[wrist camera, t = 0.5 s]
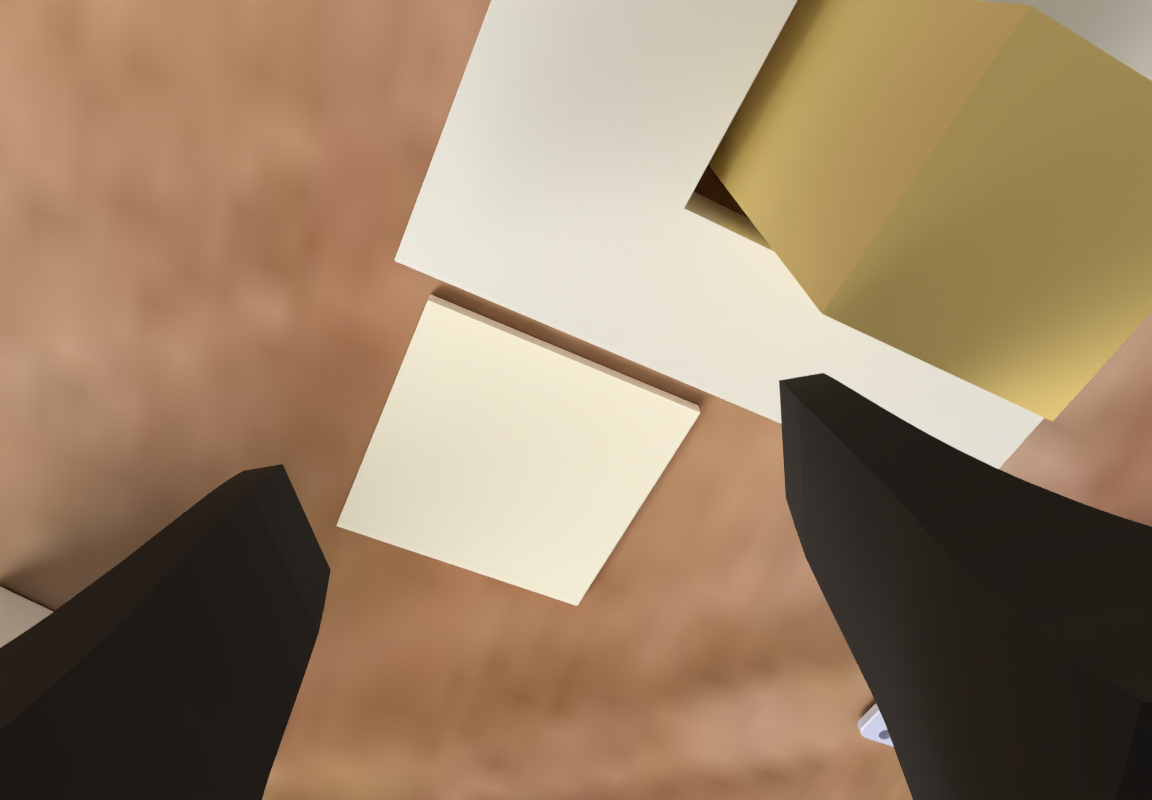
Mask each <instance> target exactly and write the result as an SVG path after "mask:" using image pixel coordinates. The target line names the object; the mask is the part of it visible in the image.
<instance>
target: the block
mask: <svg viewBox="0 0 1152 800" xmlns="http://www.w3.org/2000/svg"><path fill="white" fill-rule="evenodd" d="M709 166H710V168H711V169H712V170H713V172H714V173H715V174H716V175H717V177H718V178H719V179H720V181H721V182H722V183H723V185H724V186H725V187H726V189H727V190H728V191H729V193H730V194H731V195H732V197H733V198H734V199H735V200H736V202H737V203H738V204H739V206H740V207H741V208H742V210H743V211H744V212H745V214H746V215H747V216H748V218H749V219H750V220H751V221H752V223H753V224H754V225H755V227H756V228H757V229H758V231H759V232H760V233H761V235H762V236H763V237H764V239H765V240H766V241H767V242H768V244H769V245H770V246H771V248H772V249H773V250H774V252H775V253H776V254H777V256H778V257H779V258H780V260H781V261H782V262H783V263H784V265H785V266H786V267H787V269H788V270H789V271H790V273H791V274H792V275H793V277H794V278H795V279H796V281H797V282H798V283H799V284H800V286H801V287H802V288H803V290H804V291H805V292H806V294H807V295H808V296H809V298H810V299H811V300H812V302H813V303H814V304H815V305H816V307H817V308H818V309H819V311H820V312H821V313H822V314H823V315H825V316H828V317H830V318H832V319H834V320H836V321H838V322H840V323H843V324H845V325H847V326H849V327H851V328H853V329H855V330H858V331H860V332H862V333H864V334H866V335H868V336H870V337H873V338H875V339H877V340H879V341H881V342H883V343H885V344H888V345H890V346H892V347H894V348H896V349H898V350H900V351H903V352H905V353H907V354H909V355H911V356H913V357H915V358H918V359H920V360H922V361H924V362H926V363H928V364H930V365H933V366H935V367H937V368H939V369H941V370H943V371H945V372H948V373H950V374H952V375H954V376H956V377H958V378H960V379H962V380H965V381H967V382H969V383H971V384H973V385H975V386H977V387H980V388H982V389H984V390H986V391H988V392H990V393H992V394H995V395H997V396H999V397H1001V398H1003V399H1005V400H1007V401H1010V402H1012V403H1014V404H1016V405H1018V406H1020V407H1022V408H1025V409H1027V410H1029V411H1031V412H1033V413H1035V414H1037V415H1040V416H1042V417H1044V418H1046V419H1048V420H1050V421H1052V422H1053V420H1054V419H1055V418H1056V417H1057V416H1058V415H1059V414H1060V413H1061V412H1062V410H1063V409H1064V408H1065V407H1066V406H1067V405H1068V404H1069V403H1070V402H1071V400H1072V399H1073V398H1074V397H1075V396H1076V395H1077V394H1078V393H1079V392H1080V390H1081V389H1082V388H1083V387H1084V386H1085V385H1086V384H1087V383H1088V382H1089V380H1090V379H1091V378H1092V377H1093V376H1094V375H1095V374H1096V373H1097V372H1098V370H1099V369H1100V368H1101V367H1102V366H1103V365H1104V364H1105V363H1106V362H1107V361H1108V359H1109V358H1110V357H1111V356H1112V355H1113V354H1114V353H1115V352H1116V351H1117V349H1118V348H1119V347H1120V346H1121V345H1122V344H1123V343H1124V342H1125V341H1126V339H1127V338H1128V337H1129V336H1130V335H1131V334H1132V333H1133V332H1134V331H1135V329H1136V328H1137V327H1138V326H1139V325H1140V324H1141V323H1142V322H1143V321H1144V319H1145V318H1146V317H1147V316H1148V315H1149V314H1150V313H1151V312H1152V81H1151V80H1149V79H1148V78H1146V77H1144V76H1143V75H1141V74H1140V73H1138V72H1136V71H1135V70H1133V69H1132V68H1130V67H1128V66H1127V65H1125V64H1124V63H1122V62H1120V61H1119V60H1117V59H1116V58H1114V57H1112V56H1111V55H1109V54H1108V53H1106V52H1104V51H1103V50H1101V49H1100V48H1098V47H1096V46H1095V45H1093V44H1092V43H1090V42H1088V41H1087V40H1085V39H1084V38H1082V37H1081V36H1079V35H1077V34H1076V33H1074V32H1073V31H1071V30H1069V29H1068V28H1066V27H1065V26H1063V25H1061V24H1060V23H1058V22H1057V21H1055V20H1053V19H1052V18H1050V17H1049V16H1047V15H1045V14H1044V13H1042V12H1041V11H1039V10H1037V9H1036V8H1034V7H1033V6H1031V5H1021V4H1010V3H999V2H988V1H977V0H798V1H797V3H796V5H795V7H794V9H793V11H792V12H791V14H790V16H789V18H788V20H787V22H786V23H785V25H784V27H783V29H782V31H781V33H780V34H779V36H778V38H777V40H776V42H775V44H774V45H773V47H772V49H771V51H770V53H769V55H768V56H767V58H766V60H765V62H764V64H763V66H762V67H761V69H760V71H759V73H758V75H757V77H756V78H755V80H754V82H753V84H752V86H751V88H750V89H749V91H748V93H747V95H746V97H745V99H744V100H743V102H742V104H741V106H740V108H739V110H738V111H737V113H736V115H735V117H734V119H733V121H732V122H731V124H730V126H729V128H728V130H727V132H726V133H725V135H724V137H723V139H722V141H721V143H720V144H719V146H718V148H717V150H716V152H715V154H714V155H713V157H712V159H711V161H710V163H709Z"/></svg>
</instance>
